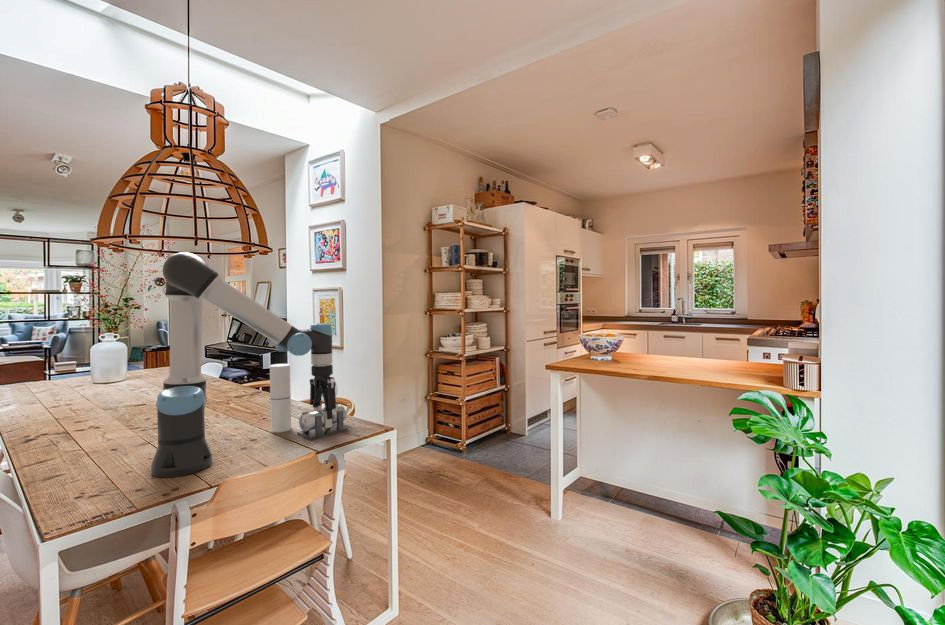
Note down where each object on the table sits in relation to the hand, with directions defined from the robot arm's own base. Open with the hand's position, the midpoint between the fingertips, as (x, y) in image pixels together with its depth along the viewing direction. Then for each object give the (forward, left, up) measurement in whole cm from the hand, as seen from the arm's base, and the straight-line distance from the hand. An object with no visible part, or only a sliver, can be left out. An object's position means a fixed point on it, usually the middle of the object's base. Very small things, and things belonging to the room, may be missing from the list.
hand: (323, 425), depth 162 cm
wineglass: (+9, +11, -3) cm, 14 cm away
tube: (0, 0, 0) cm, 0 cm away
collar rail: (0, 0, -3) cm, 3 cm away
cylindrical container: (-8, +16, -3) cm, 18 cm away
